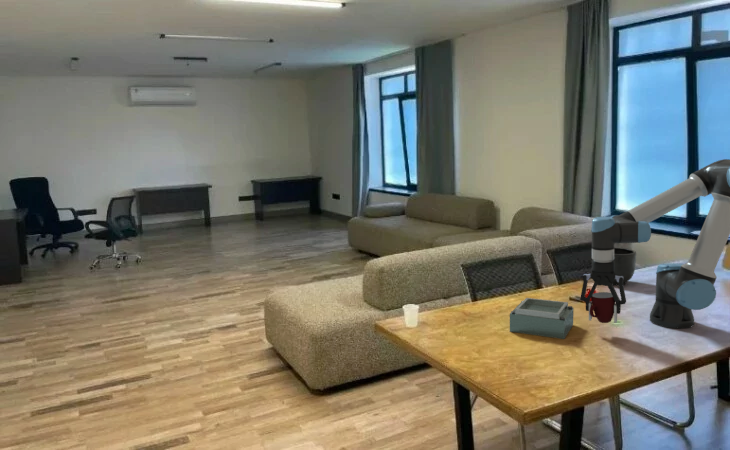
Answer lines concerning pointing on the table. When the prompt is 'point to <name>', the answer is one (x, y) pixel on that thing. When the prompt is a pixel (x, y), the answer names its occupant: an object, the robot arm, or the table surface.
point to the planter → (624, 264)
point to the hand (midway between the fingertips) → (602, 320)
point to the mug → (602, 306)
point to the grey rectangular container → (542, 318)
